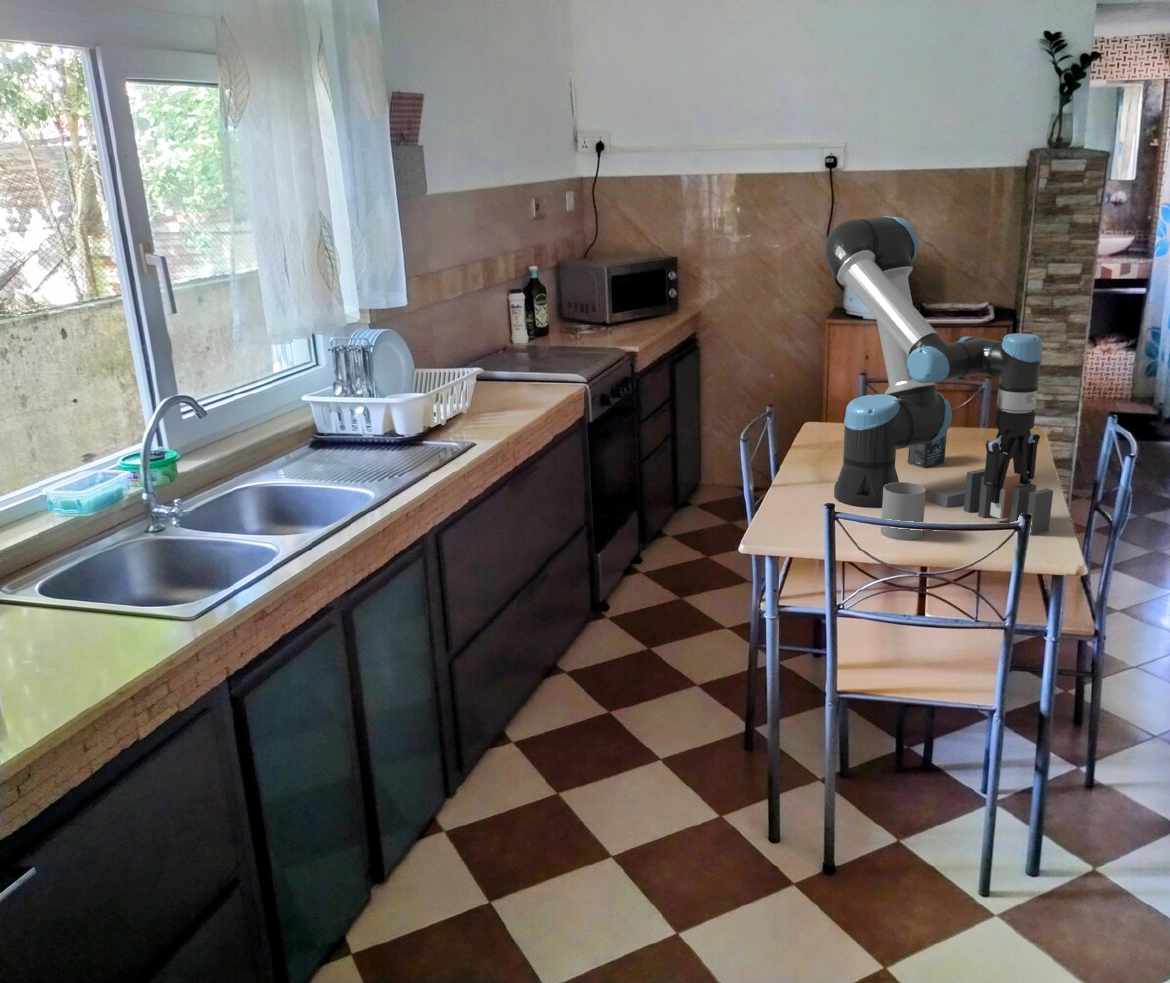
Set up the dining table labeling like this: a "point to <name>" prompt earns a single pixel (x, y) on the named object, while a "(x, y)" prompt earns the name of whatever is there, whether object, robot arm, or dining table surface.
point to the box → (928, 453)
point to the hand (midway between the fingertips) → (1005, 514)
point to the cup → (903, 508)
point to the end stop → (950, 496)
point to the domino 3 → (1009, 491)
